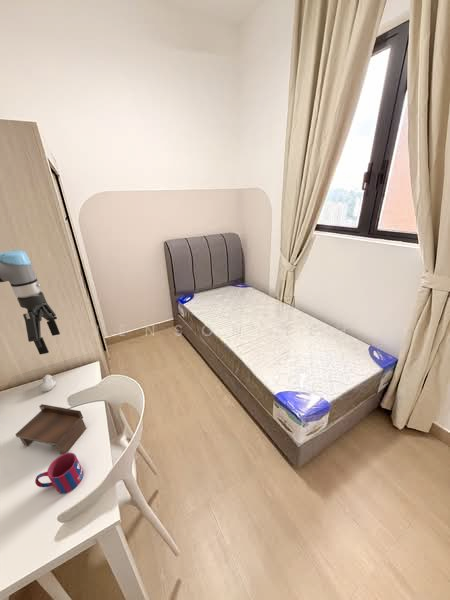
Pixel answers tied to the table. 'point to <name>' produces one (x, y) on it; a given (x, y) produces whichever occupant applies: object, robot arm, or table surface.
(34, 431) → the shelf
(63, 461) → the mug
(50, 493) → the table surface
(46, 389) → the smooth white sculpture
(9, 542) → the table surface
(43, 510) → the table surface
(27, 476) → the table surface
